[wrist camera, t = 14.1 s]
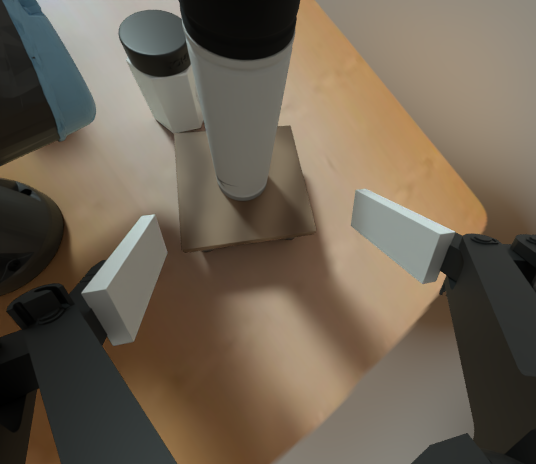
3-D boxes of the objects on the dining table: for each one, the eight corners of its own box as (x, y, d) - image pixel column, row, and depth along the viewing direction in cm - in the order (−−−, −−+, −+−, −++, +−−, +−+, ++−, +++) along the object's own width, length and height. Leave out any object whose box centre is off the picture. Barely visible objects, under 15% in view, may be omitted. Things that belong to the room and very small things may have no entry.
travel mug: (217, 205, 27) (151, -36, 8) (217, 158, 29) (163, -125, 10) (268, 203, 27) (324, -18, 8) (264, 158, 29) (303, -105, 10)
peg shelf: (193, 259, 30) (181, 250, 25) (185, 160, 35) (173, 133, 29) (304, 243, 33) (316, 230, 27) (283, 152, 37) (290, 125, 31)
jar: (198, 139, 36) (178, 65, 25) (149, 129, 36) (104, 48, 24) (212, 99, 39) (198, 15, 28) (166, 89, 39) (133, 0, 27)
